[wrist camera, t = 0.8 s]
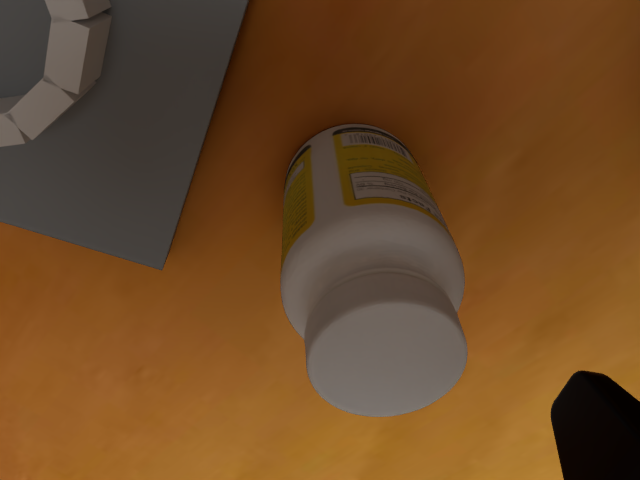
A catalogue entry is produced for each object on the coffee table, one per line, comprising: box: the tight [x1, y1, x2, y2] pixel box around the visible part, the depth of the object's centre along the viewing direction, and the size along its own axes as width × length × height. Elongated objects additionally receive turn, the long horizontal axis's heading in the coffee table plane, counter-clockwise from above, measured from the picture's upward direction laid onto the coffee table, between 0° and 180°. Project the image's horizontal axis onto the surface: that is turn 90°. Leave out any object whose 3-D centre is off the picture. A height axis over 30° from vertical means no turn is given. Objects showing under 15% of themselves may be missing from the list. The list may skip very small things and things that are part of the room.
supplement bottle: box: [281, 124, 467, 417], centre depth 17 cm, size 5×5×10 cm
